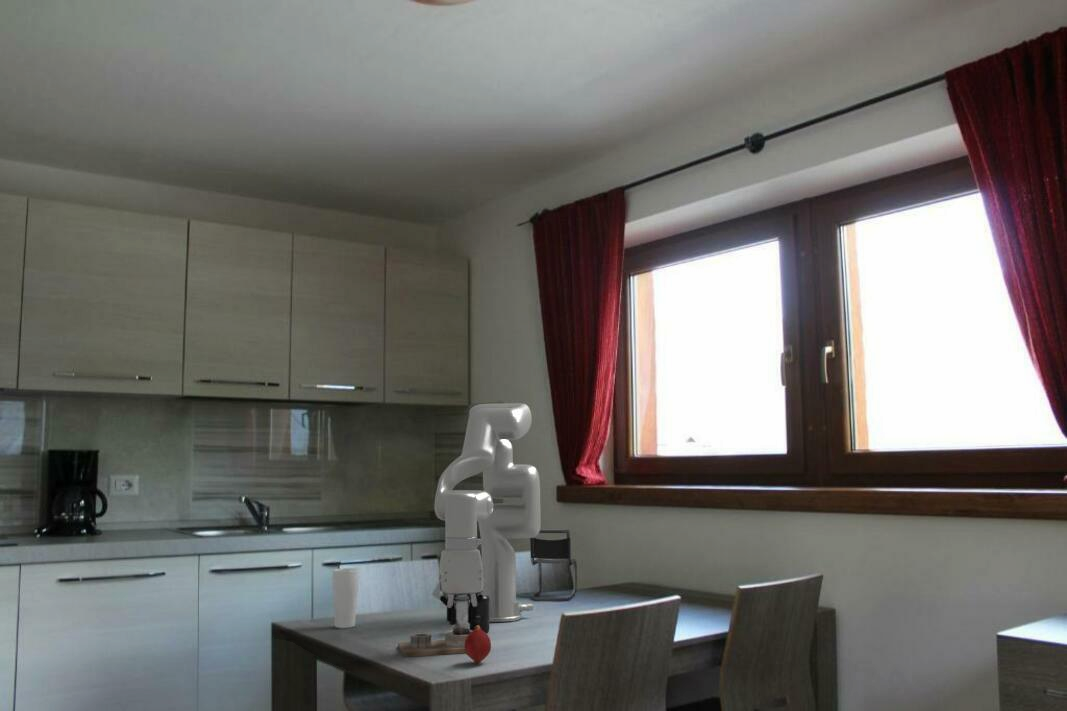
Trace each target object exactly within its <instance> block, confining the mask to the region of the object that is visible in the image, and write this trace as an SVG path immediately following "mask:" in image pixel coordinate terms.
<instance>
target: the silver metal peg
mask: <svg viewBox="0 0 1067 711" xmlns="http://www.w3.org/2000/svg"><path fill="white" fill-rule="evenodd" d="M470 599H471V596H470V594H454V598H453V604H452V605H453V608H454V625H452V631H453V635H469V633H470Z"/></svg>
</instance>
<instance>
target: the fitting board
mask: <svg viewBox="0 0 1067 711" xmlns="http://www.w3.org/2000/svg"><path fill="white" fill-rule="evenodd" d="M471 632H472V631H471V630H470V633H471ZM467 636H468V635H453V630H450V631H446V632H444V639H437V640H435V639H434V640H432V634H431V633H426V632H422V633H421V632H420V633H412V634H410V638H409V639H410V641H404V642H403V641H401V642H398V643H397V644H398V645H397V646H398V649H399V651H400V652H401V654H402V655H403V657H404V658H410V657H412V658H413V657H426V656H442V655H444V656H445V655H457V654H458V655H459V654H461V655H462V654H466V652H465V647H464V645H465V640H466V637H467Z"/></svg>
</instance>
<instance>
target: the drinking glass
mask: <svg viewBox="0 0 1067 711" xmlns="http://www.w3.org/2000/svg"><path fill="white" fill-rule="evenodd" d="M358 592H359V569H358V568H353V567H352V568H350V567H349V568H348V567H347V568H346V567H344V568H343V567H342V568H336V569H333V570H332V597H333V598H332V600H333V611H334V614H333V616H334V627H335V628H336V629H351V628H354V627H355V626H356V613H357V602H358Z"/></svg>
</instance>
